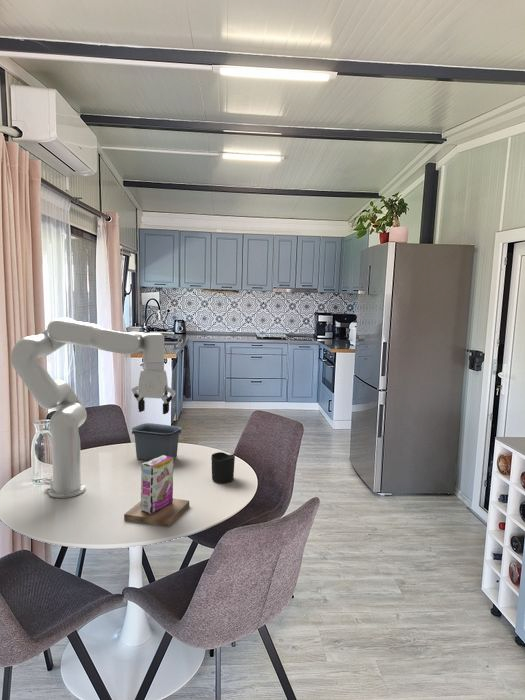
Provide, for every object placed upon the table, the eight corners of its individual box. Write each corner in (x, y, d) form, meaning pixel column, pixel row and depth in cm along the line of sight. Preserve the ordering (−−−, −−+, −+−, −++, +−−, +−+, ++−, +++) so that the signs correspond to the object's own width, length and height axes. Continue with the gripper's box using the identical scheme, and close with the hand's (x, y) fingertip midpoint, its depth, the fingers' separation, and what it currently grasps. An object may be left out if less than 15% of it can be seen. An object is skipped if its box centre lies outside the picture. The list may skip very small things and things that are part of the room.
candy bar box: (152, 515, 151) (152, 466, 149) (140, 511, 153) (140, 463, 151) (173, 502, 161) (174, 456, 159) (162, 499, 163) (162, 454, 161)
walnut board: (124, 520, 151) (124, 514, 151) (147, 500, 167) (147, 495, 166) (169, 526, 147) (169, 520, 147) (189, 506, 163) (189, 500, 163)
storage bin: (127, 459, 209) (127, 428, 208) (147, 450, 223) (147, 420, 222) (168, 466, 202) (169, 434, 200) (186, 455, 216) (186, 425, 215)
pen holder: (229, 474, 194) (230, 451, 193) (237, 482, 186) (238, 458, 185) (208, 477, 191) (208, 453, 190) (215, 485, 182) (215, 460, 181)
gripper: (127, 366, 169) (127, 412, 170) (170, 369, 165) (170, 416, 166) (137, 364, 176) (137, 408, 178) (179, 366, 172) (179, 412, 173)
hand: (153, 412), depth 172 cm, fingers open, 9 cm apart
